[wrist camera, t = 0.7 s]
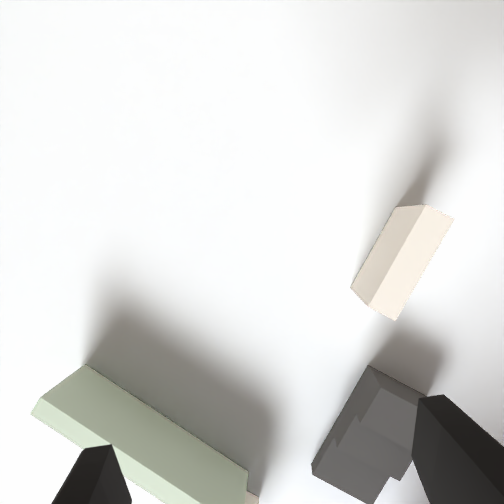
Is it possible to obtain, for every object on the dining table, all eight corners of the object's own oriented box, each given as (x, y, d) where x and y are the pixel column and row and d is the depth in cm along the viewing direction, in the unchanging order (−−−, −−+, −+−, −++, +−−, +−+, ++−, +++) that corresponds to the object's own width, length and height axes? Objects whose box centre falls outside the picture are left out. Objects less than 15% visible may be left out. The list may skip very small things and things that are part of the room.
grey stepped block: (367, 363, 29) (380, 387, 25) (425, 394, 29) (448, 423, 25) (310, 461, 30) (315, 499, 26) (367, 491, 30) (380, 534, 26)
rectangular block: (219, 565, 31) (204, 650, 25) (200, 555, 31) (180, 637, 25) (417, 218, 28) (454, 219, 22) (395, 207, 28) (426, 204, 22)
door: (248, 472, 29) (240, 530, 24) (234, 493, 30) (223, 555, 24) (85, 364, 30) (40, 397, 24) (71, 385, 30) (24, 423, 24)
